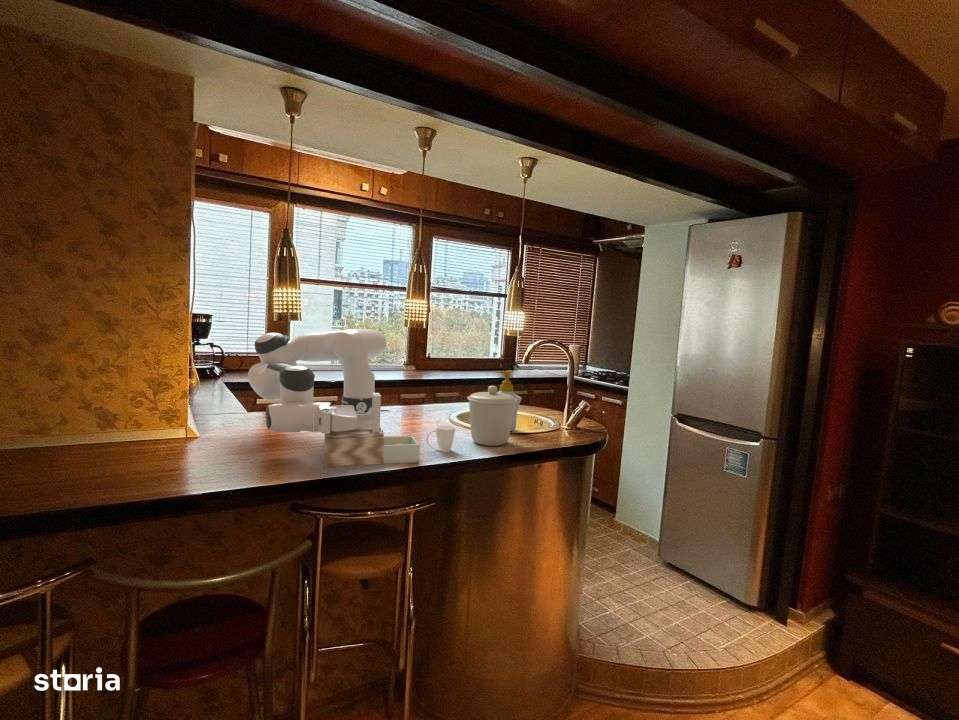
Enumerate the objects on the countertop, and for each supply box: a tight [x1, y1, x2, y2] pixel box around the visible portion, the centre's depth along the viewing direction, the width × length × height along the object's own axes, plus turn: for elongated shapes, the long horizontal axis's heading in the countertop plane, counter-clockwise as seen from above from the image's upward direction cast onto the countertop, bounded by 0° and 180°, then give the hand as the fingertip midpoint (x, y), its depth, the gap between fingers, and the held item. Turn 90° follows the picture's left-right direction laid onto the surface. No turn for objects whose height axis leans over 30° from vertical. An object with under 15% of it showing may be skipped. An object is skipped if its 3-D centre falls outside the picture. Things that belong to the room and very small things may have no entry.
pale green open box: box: [382, 435, 420, 465], centre depth 155 cm, size 11×11×6 cm
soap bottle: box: [495, 369, 523, 432], centre depth 200 cm, size 13×13×25 cm
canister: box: [466, 385, 517, 447], centre depth 179 cm, size 18×18×21 cm
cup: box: [426, 424, 457, 453], centre depth 166 cm, size 7×10×8 cm
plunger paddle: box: [371, 392, 382, 433], centre depth 152 cm, size 2×6×12 cm, turn 18°
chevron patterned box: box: [323, 427, 385, 467], centre depth 151 cm, size 17×11×9 cm
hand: (371, 416), depth 152 cm, fingers closed
